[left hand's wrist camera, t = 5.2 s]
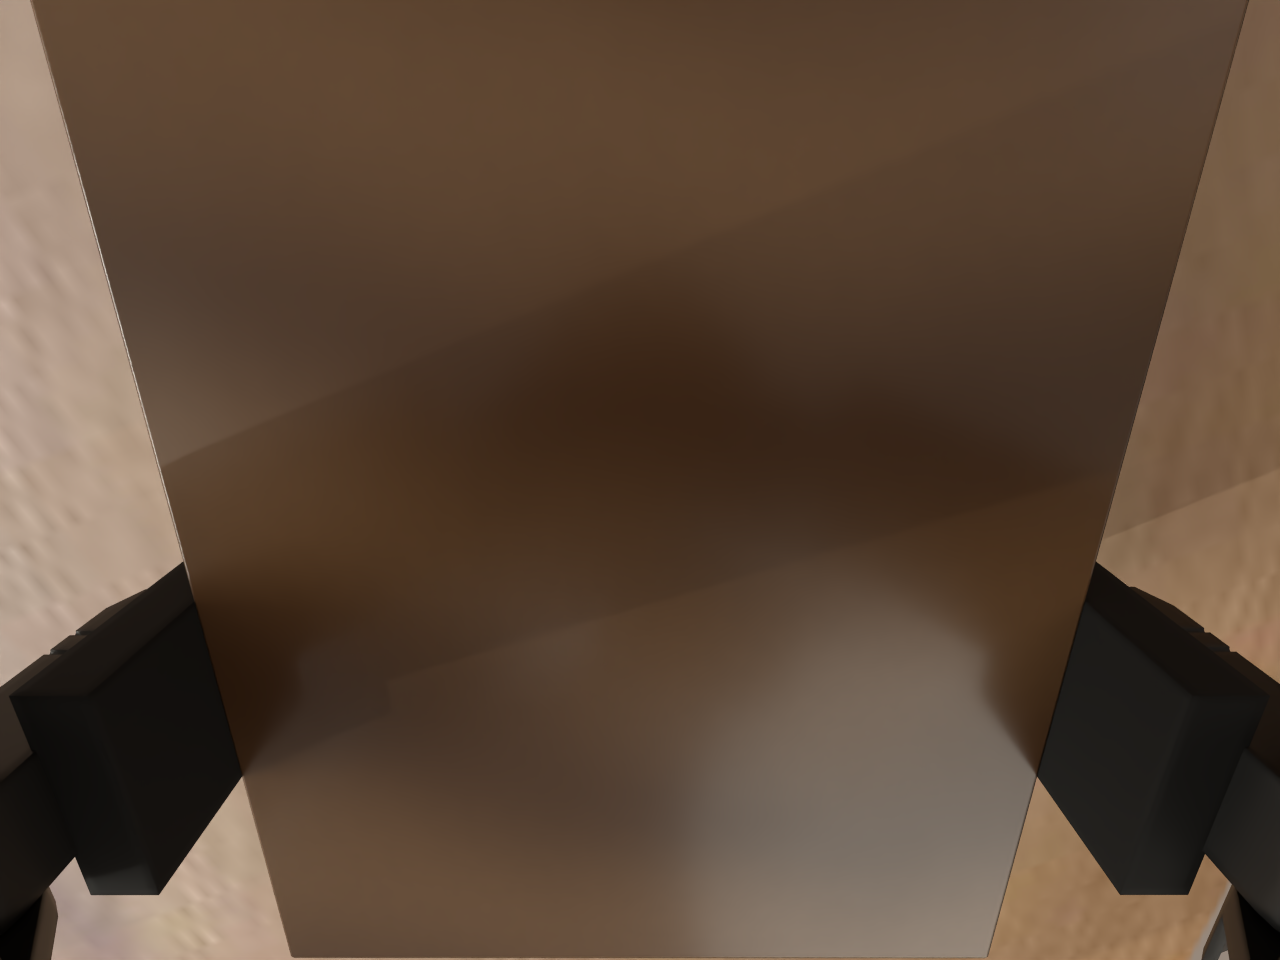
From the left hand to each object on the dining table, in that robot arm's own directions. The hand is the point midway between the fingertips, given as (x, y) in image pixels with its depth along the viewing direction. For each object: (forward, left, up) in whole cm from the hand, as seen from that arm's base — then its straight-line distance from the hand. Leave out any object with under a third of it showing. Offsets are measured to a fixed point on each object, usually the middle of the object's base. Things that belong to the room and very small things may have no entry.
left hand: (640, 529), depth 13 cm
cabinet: (+4, 0, -3) cm, 5 cm away
